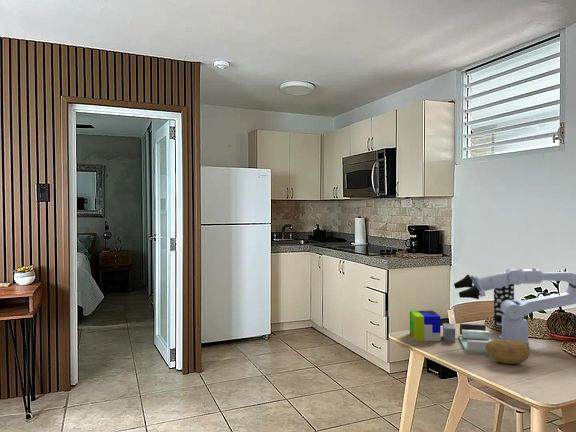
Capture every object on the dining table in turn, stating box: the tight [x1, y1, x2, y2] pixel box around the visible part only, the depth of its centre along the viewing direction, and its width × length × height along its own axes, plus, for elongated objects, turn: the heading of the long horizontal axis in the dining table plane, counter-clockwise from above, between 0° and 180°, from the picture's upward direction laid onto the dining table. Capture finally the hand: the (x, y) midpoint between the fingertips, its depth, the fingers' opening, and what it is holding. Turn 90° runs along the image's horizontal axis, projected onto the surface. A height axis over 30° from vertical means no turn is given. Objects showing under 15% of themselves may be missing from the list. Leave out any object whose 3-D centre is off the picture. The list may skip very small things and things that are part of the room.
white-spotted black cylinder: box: [493, 284, 515, 327], centre depth 203 cm, size 8×8×20 cm
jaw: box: [459, 323, 490, 340], centre depth 184 cm, size 10×8×4 cm
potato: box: [485, 339, 530, 365], centre depth 157 cm, size 10×14×8 cm
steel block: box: [442, 322, 456, 343], centre depth 185 cm, size 4×8×6 cm, turn 167°
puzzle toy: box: [409, 310, 442, 342], centre depth 188 cm, size 10×10×10 cm
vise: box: [458, 336, 492, 356], centre depth 174 cm, size 12×18×4 cm, turn 167°
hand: (456, 290), depth 186 cm, fingers open, 7 cm apart
